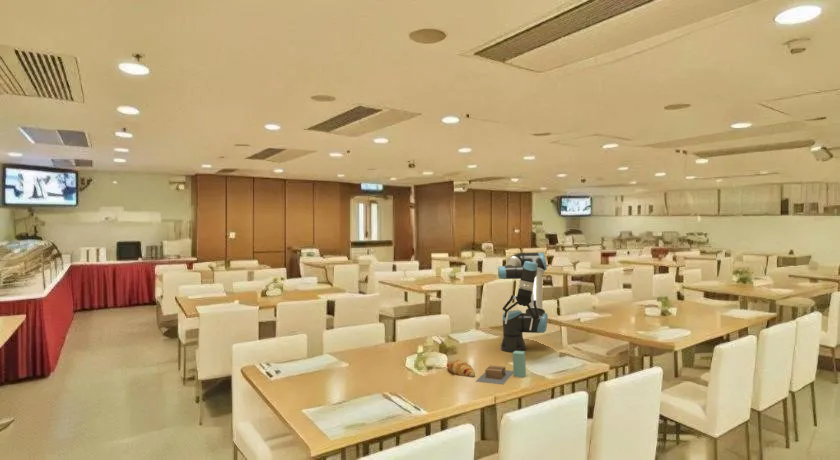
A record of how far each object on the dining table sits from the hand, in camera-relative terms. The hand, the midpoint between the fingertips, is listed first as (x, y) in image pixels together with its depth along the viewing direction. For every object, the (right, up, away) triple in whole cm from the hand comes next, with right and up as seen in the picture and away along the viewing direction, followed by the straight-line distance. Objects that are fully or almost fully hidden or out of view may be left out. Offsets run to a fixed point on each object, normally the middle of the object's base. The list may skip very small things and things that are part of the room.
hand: (517, 326), depth 255 cm
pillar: (-4, -20, -22) cm, 30 cm away
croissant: (-33, -22, -14) cm, 42 cm away
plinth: (-16, -20, -22) cm, 34 cm away
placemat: (-16, -21, -22) cm, 34 cm away
